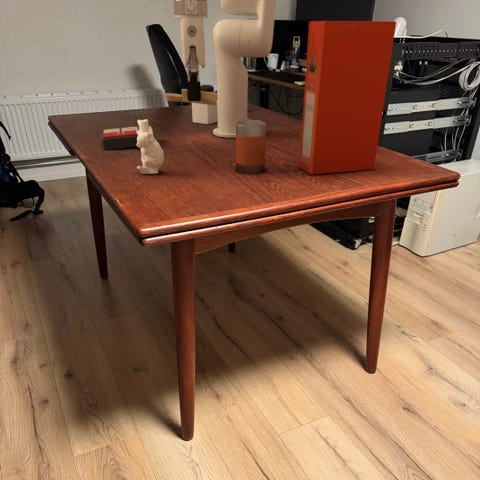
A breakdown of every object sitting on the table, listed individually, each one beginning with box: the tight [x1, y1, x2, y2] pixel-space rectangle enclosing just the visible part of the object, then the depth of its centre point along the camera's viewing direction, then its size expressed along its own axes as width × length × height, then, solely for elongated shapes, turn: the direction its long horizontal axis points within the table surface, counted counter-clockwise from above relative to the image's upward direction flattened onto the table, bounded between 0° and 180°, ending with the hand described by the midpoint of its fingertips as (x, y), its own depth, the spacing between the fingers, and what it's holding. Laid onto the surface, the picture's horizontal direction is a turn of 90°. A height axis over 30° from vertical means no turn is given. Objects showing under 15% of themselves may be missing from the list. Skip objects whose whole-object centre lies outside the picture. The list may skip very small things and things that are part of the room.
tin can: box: [235, 119, 267, 175], centre depth 117 cm, size 7×7×11 cm
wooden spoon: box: [164, 88, 217, 105], centre depth 116 cm, size 12×4×3 cm, turn 96°
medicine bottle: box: [191, 84, 218, 125], centre depth 168 cm, size 7×7×12 cm
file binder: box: [298, 20, 397, 176], centre depth 113 cm, size 8×17×32 cm, turn 108°
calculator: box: [101, 125, 157, 151], centre depth 141 cm, size 11×4×15 cm
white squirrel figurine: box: [136, 119, 165, 175], centre depth 115 cm, size 8×7×12 cm
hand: (194, 99), depth 116 cm, fingers closed on wooden spoon
